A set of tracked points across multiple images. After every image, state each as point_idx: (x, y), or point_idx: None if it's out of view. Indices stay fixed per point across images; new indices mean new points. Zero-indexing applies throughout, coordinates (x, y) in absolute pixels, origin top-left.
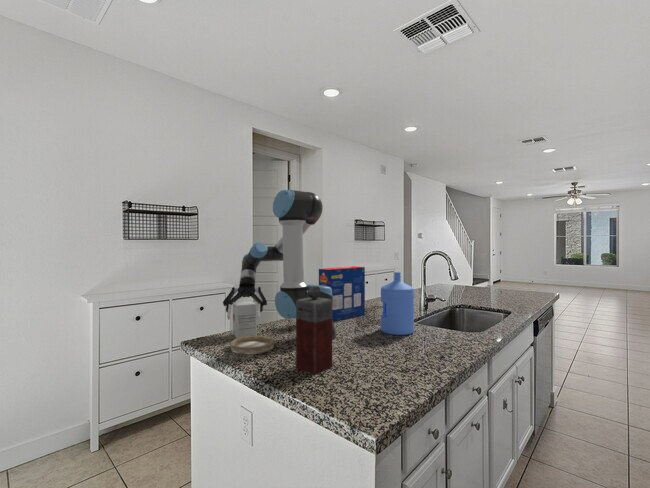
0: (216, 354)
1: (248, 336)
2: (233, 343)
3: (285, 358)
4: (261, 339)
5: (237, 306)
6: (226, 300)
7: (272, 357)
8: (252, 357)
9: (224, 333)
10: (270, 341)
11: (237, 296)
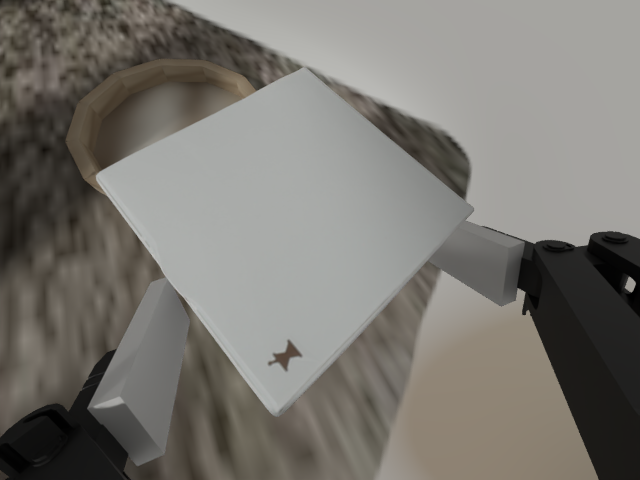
0: (283, 71)
1: None
2: (246, 92)
3: (27, 65)
4: None
5: (303, 73)
6: (629, 258)
7: (79, 68)
8: None
9: (419, 302)
10: (97, 167)
11: (616, 384)
